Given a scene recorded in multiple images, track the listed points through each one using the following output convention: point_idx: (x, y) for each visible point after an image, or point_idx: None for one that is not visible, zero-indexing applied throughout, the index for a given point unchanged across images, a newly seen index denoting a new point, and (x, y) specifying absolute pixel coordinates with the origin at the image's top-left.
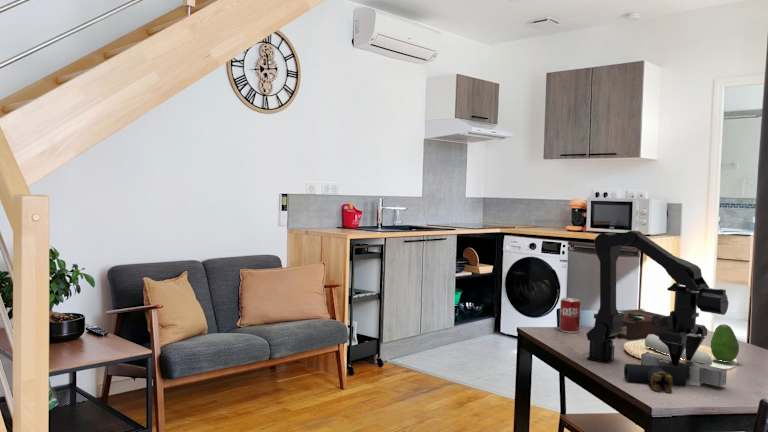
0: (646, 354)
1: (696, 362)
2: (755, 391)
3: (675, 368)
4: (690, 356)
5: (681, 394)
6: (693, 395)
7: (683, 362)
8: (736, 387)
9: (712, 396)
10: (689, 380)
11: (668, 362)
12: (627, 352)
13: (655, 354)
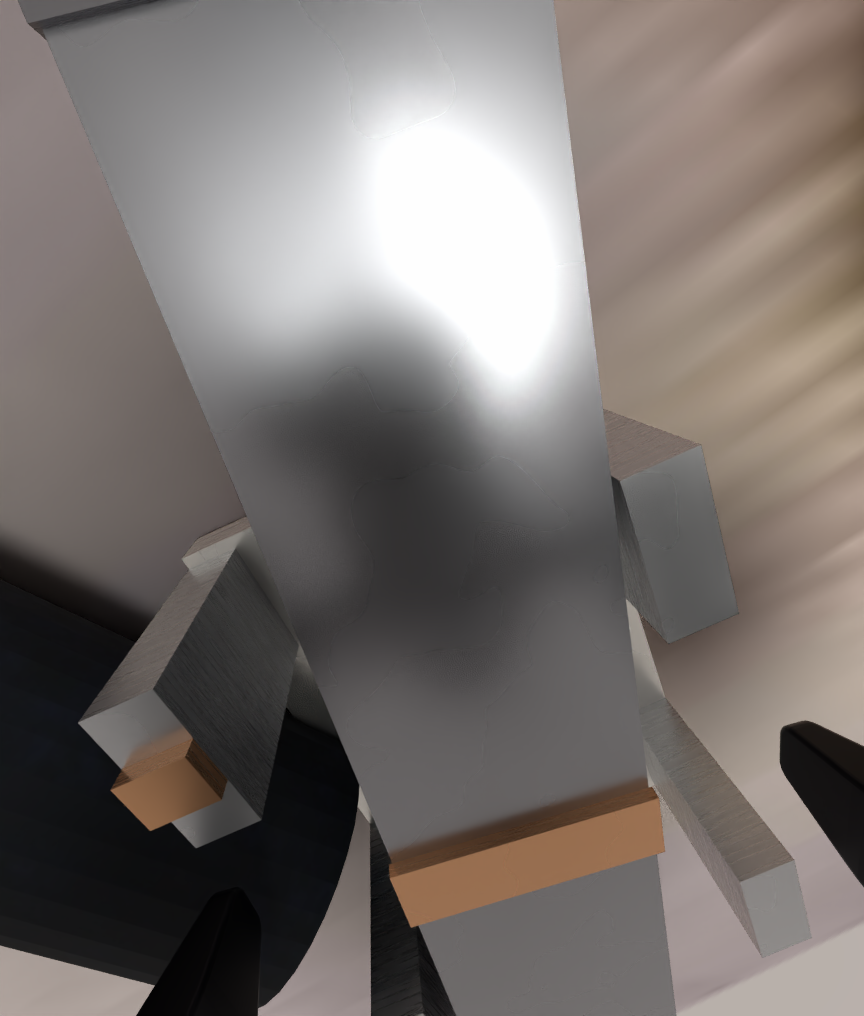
0: (207, 95)
1: (735, 874)
2: (705, 977)
3: (136, 973)
4: (846, 844)
5: (30, 953)
6: (130, 980)
7: (492, 889)
8: (686, 907)
9: (279, 1009)
10: (371, 831)
11: (198, 845)
12: None
13: (519, 237)
